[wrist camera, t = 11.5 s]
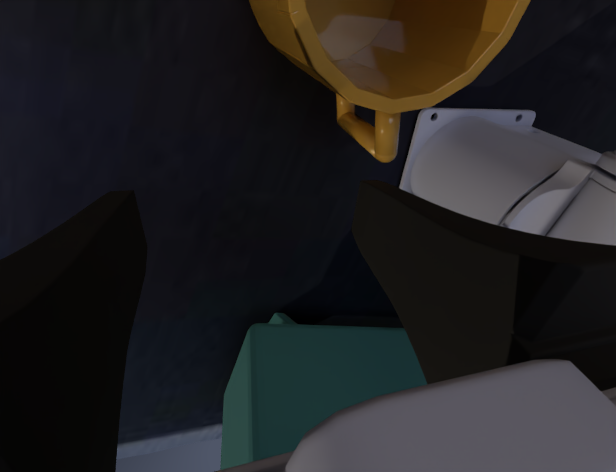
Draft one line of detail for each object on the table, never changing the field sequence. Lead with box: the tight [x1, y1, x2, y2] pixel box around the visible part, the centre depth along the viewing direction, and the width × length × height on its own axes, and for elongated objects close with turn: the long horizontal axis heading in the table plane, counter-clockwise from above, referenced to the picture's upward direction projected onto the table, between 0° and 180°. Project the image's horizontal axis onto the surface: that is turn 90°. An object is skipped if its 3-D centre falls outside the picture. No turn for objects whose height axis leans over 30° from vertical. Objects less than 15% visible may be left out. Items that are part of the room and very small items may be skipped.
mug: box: [249, 0, 531, 163], centre depth 14 cm, size 11×8×9 cm
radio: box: [221, 313, 427, 470], centre depth 30 cm, size 34×10×15 cm, turn 70°
